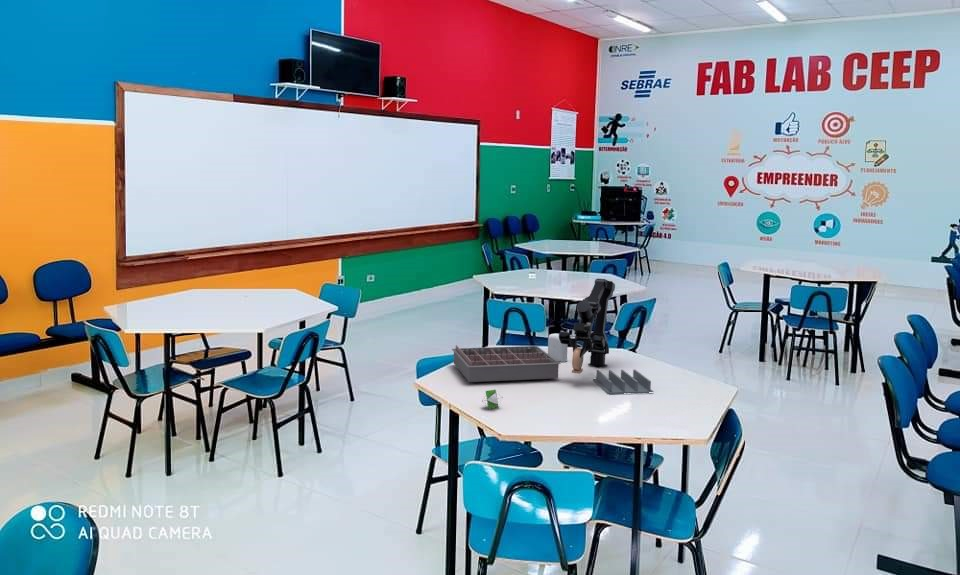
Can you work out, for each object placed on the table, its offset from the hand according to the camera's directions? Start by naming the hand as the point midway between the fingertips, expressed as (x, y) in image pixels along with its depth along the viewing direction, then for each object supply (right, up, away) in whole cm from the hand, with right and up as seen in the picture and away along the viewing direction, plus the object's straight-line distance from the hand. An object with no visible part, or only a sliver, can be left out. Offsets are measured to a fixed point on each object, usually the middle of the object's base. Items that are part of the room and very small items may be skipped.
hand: (577, 357), depth 311 cm
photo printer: (-4, -6, +43) cm, 43 cm away
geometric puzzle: (-35, -16, -30) cm, 49 cm away
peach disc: (0, -6, +2) cm, 7 cm away
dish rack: (+19, -12, +1) cm, 23 cm away
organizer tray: (-29, -9, +18) cm, 35 cm away
